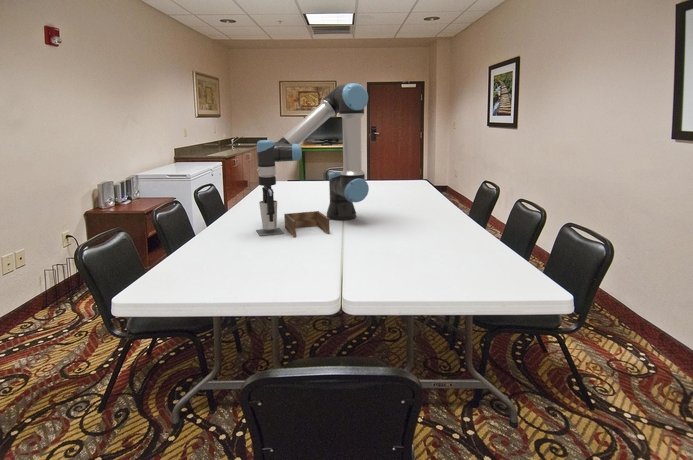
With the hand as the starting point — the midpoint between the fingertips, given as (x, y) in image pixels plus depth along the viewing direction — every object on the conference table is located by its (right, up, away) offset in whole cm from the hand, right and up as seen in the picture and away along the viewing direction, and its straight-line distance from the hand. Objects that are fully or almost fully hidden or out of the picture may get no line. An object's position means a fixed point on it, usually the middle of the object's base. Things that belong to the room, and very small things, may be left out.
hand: (269, 226), depth 214 cm
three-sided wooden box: (+17, -2, +1) cm, 17 cm away
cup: (0, -1, 0) cm, 1 cm away
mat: (0, -3, +1) cm, 3 cm away
